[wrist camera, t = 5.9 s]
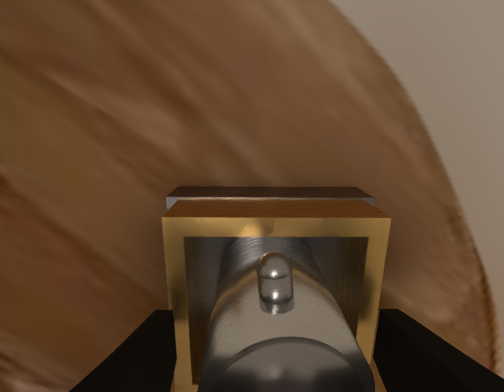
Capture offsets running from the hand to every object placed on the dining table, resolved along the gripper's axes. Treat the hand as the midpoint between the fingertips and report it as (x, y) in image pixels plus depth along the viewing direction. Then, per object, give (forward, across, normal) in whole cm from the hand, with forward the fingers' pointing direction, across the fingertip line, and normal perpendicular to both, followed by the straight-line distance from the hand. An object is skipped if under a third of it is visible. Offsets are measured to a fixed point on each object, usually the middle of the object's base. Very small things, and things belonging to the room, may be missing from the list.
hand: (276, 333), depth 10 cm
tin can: (+3, 0, 0) cm, 3 cm away
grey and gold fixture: (+5, 0, +2) cm, 6 cm away
